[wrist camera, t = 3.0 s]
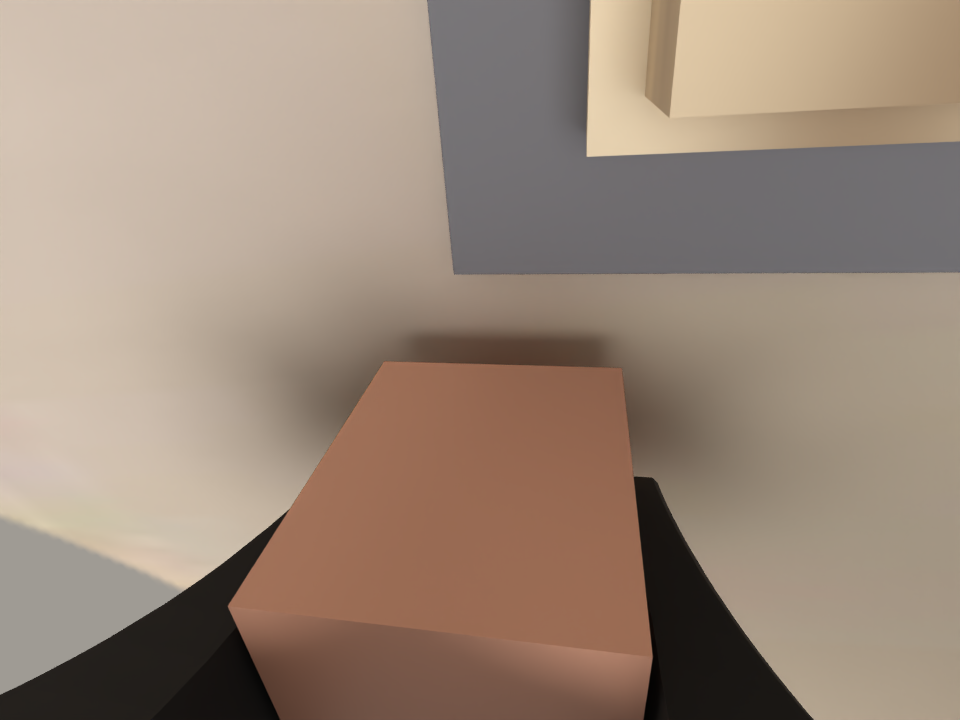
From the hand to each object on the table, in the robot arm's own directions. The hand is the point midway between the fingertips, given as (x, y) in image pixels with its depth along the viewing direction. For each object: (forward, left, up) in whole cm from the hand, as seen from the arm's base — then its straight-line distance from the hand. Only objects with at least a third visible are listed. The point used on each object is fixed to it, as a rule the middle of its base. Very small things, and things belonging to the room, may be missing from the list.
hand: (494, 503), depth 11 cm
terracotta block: (0, 0, -2) cm, 2 cm away
